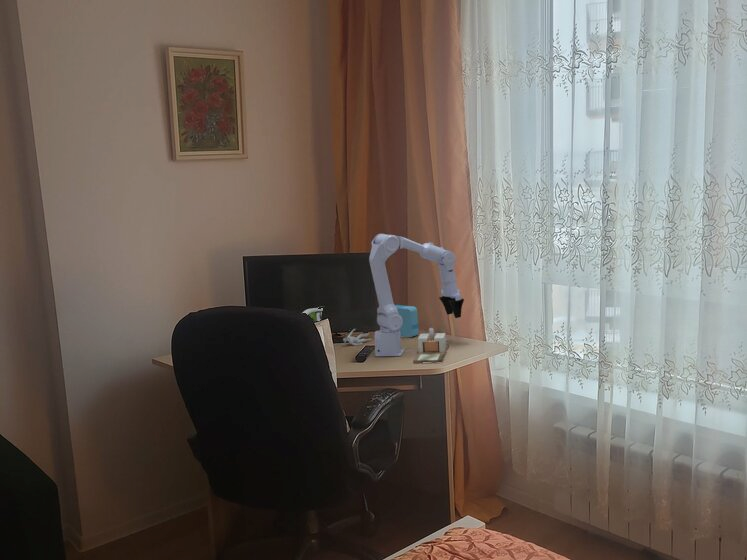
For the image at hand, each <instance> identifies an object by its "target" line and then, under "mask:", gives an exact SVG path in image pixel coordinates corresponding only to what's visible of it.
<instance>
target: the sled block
mask: <svg viewBox="0 0 747 560" xmlns="http://www.w3.org/2000/svg"><path fill="white" fill-rule="evenodd" d="M428 331H429V332H428V334H429V336H430V337H429V339H428V341H427V342H424V348H425V351H439V341H435V342H434V337H435V332H434V331H435V330H434V327H430V328H428Z"/></svg>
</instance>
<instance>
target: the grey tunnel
mask: <svg viewBox="0 0 747 560" xmlns="http://www.w3.org/2000/svg"><path fill="white" fill-rule="evenodd" d="M429 338H430V336H429V333H420V334H419V336H418V337H417V346H418V349H417V350H418V351H419V353H423V352H424V350H425V348H424V342H427V341H428V339H429ZM435 341H439V351H440V352H444V351H445V349H446V344H447V338H446V332H439V333H438V332H437V333H435V334H434V342H435ZM418 351H417V352H418Z"/></svg>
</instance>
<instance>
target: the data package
mask: <svg viewBox="0 0 747 560" xmlns="http://www.w3.org/2000/svg"><path fill="white" fill-rule="evenodd" d="M394 305H395V306H396V308H397V309H398V313H399V315H400V316H401V317H402V320H403V324H402V326H401V328H400V336H404V337H403V338H407V337H411V338H414V337H416V335H417V336H418V335H420V334H419V333H420V332H419V317H418V314H419V313H418V309H417V307H416V306H414V305H413V306H410V305H401V304H394ZM413 336H414V337H413Z"/></svg>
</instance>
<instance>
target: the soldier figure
mask: <svg viewBox="0 0 747 560" xmlns="http://www.w3.org/2000/svg"><path fill="white" fill-rule="evenodd" d="M355 331H356V328H353V329H352V330H351V331H350V332H349V333H348V334H347V335H346V337H343V338H342V341H343V343H344V344H346V343H347V342H348V344H350V345H352V346H362V345H363V343H366V342H370V341H371V340H372V338H371V337H369V338H368V339H365V338H364V337H366V338H367V337H368V336H369V335H370V333H369V332H368V333H365V334H362V333H360V334H359V335H358V336H353V333H354V332H355Z"/></svg>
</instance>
